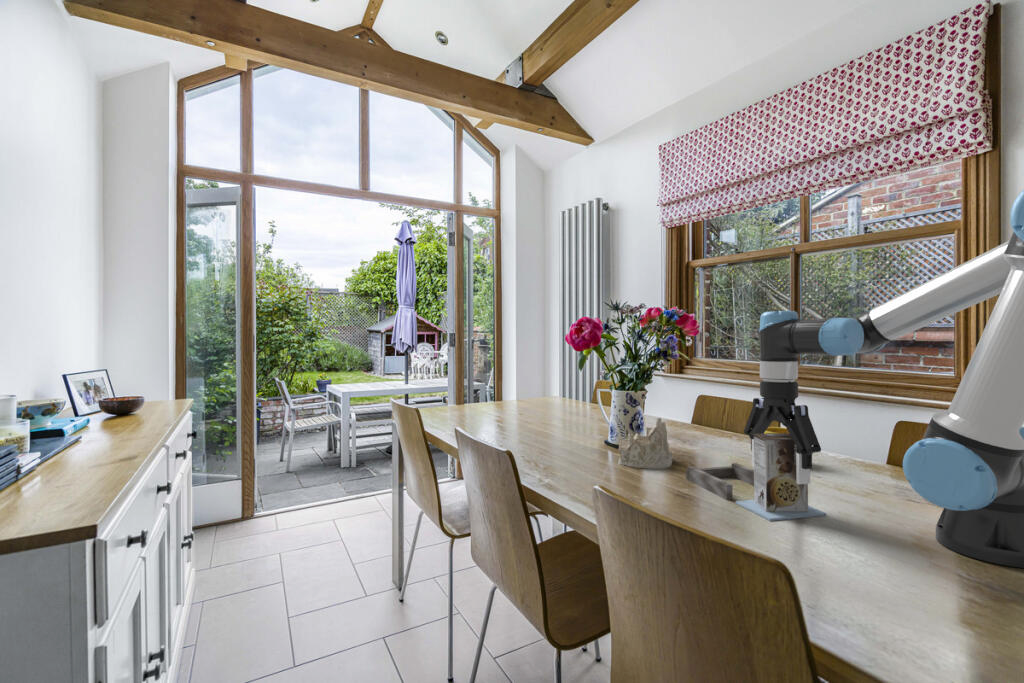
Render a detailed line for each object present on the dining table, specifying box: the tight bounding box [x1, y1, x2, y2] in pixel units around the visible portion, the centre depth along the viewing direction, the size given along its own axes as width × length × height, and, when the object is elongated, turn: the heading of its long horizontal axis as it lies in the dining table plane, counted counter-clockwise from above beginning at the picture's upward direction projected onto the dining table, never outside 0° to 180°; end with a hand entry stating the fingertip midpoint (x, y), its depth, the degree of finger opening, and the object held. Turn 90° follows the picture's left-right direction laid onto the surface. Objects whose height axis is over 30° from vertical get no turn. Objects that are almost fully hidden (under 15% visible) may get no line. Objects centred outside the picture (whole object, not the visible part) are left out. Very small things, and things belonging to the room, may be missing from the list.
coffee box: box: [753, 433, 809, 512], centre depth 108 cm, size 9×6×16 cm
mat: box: [735, 499, 827, 522], centre depth 108 cm, size 11×14×1 cm
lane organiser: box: [685, 462, 754, 501], centre depth 125 cm, size 18×15×4 cm
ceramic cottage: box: [618, 417, 673, 470], centre depth 150 cm, size 16×16×15 cm
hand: (779, 474), depth 108 cm, fingers open, 13 cm apart
